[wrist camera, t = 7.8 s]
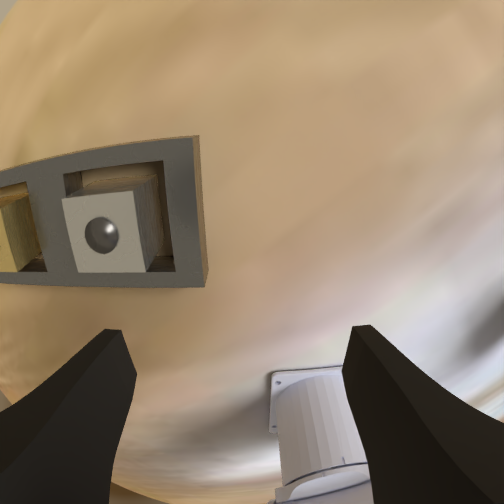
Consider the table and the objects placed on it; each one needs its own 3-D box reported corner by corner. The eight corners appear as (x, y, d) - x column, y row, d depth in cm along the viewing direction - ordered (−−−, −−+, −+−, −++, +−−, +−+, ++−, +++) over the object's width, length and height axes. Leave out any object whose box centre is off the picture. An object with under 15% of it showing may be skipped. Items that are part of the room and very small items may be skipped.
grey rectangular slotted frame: (208, 270, 18) (204, 287, 16) (2, 270, 18) (-11, 282, 16) (199, 135, 15) (192, 137, 13) (-21, 177, 15) (-37, 184, 13)
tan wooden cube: (49, 245, 17) (16, 273, 13) (14, 247, 17) (-18, 272, 13) (37, 190, 16) (-2, 210, 12) (2, 197, 16) (-34, 216, 12)
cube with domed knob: (165, 240, 17) (144, 273, 14) (106, 242, 17) (77, 273, 14) (157, 174, 16) (131, 191, 12) (96, 180, 16) (59, 199, 12)
